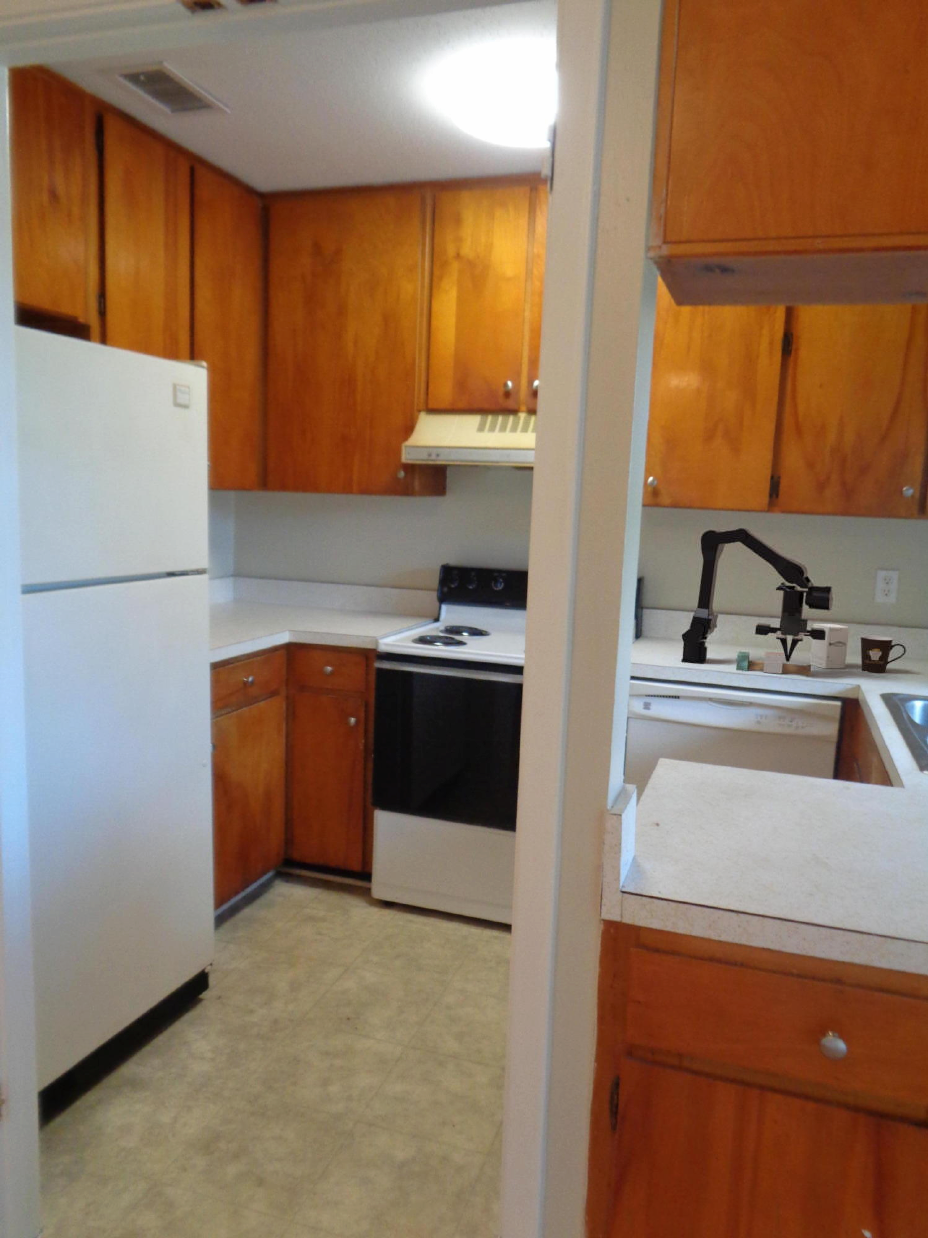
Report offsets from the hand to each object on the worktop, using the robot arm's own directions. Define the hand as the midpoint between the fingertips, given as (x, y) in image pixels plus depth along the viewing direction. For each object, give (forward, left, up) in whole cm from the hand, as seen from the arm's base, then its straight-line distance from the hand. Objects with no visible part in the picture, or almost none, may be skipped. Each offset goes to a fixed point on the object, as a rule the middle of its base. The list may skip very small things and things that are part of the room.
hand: (787, 661), depth 256 cm
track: (-4, 0, -3) cm, 5 cm away
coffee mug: (+25, +17, -4) cm, 31 cm away
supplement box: (+11, +19, -4) cm, 22 cm away
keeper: (-4, 0, -3) cm, 5 cm away
